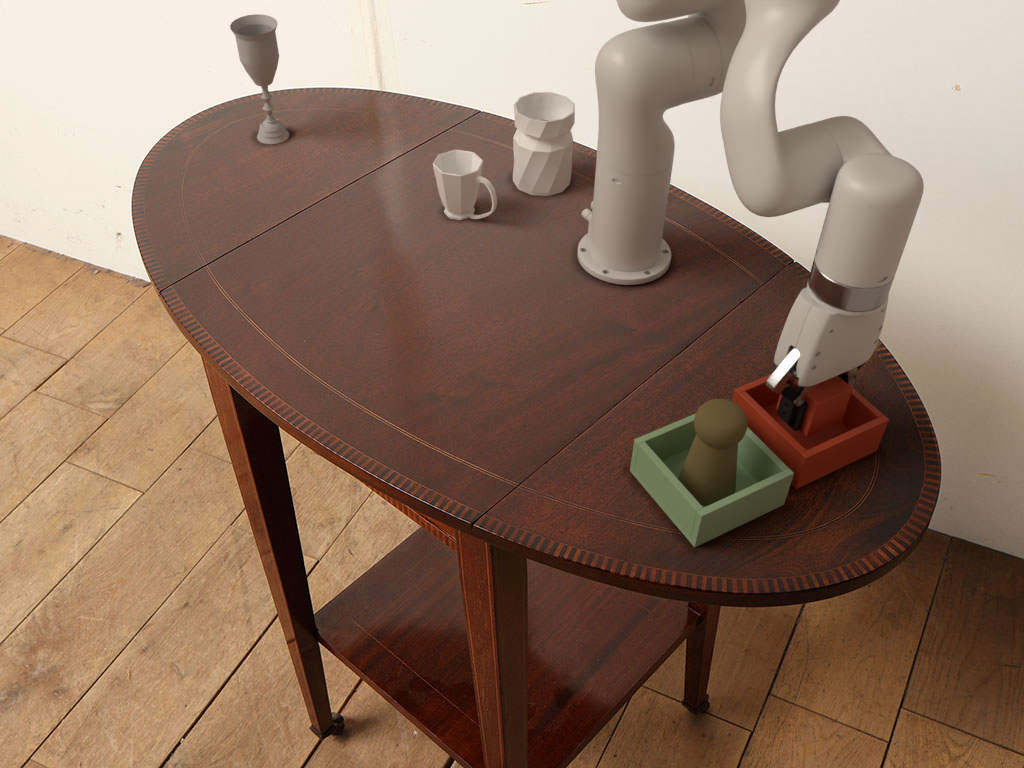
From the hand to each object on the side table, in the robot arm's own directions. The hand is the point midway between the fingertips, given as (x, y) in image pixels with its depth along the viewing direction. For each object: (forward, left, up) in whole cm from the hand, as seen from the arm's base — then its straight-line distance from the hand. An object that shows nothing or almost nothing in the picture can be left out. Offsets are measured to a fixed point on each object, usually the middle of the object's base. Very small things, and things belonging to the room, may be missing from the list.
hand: (809, 412), depth 107 cm
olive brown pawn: (+1, -14, -4) cm, 14 cm away
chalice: (-90, -30, -4) cm, 95 cm away
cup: (-56, -13, -4) cm, 58 cm away
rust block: (0, 0, 0) cm, 0 cm away
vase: (-59, +1, -4) cm, 59 cm away
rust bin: (0, 0, -4) cm, 4 cm away
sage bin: (+1, -14, -4) cm, 15 cm away
